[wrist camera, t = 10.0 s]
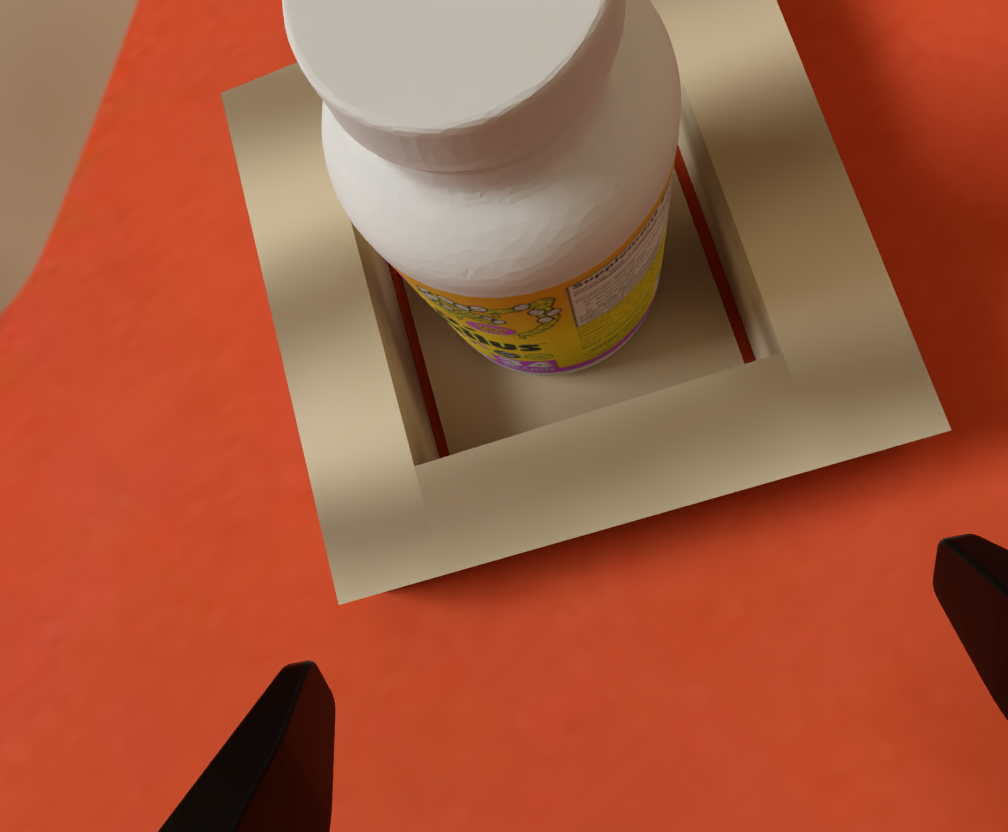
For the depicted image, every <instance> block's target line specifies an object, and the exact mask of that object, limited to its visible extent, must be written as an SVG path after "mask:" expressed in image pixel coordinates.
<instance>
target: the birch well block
mask: <svg viewBox="0 0 1008 832" xmlns="http://www.w3.org/2000/svg"><path fill="white" fill-rule="evenodd" d="M650 1H651V3H652V4H653V6H654V7H655V9H656V10H657V12H658V14H659V15H660V17H661V19H662V21H663V23H664V25H665V28H666V30H667V32H668V35H669V37H670V40H671V43H672V46H673V50H674V53H675V56H676V60H677V65H678V70H679V77H680V85H681V117H680V127H679V138H678V146H679V149H680V151H681V154H682V157H683V160H684V162H685V165H686V168H687V171H688V174H689V176H690V179H691V182H692V185H693V187H694V190H695V193H696V196H697V198H698V201H699V204H700V207H701V210H702V212H703V215H704V218H705V221H706V223H707V226H708V229H709V232H710V234H711V237H712V240H713V243H714V246H715V248H716V251H717V254H718V257H719V259H720V262H721V265H722V268H723V270H724V273H725V276H726V279H727V282H728V284H729V287H730V290H731V293H732V295H733V298H734V301H735V304H736V306H737V309H738V312H739V315H740V318H741V320H742V323H743V326H744V329H745V331H746V334H747V337H748V340H749V342H750V345H751V348H752V351H753V354H754V356H755V359H756V361H753V362H750V363H746V364H744V361H743V358H742V355H741V352H740V350H739V347H738V344H737V341H736V338H735V336H734V333H733V330H732V327H731V324H730V322H729V319H728V316H727V313H726V310H725V308H724V305H723V302H722V299H721V297H720V294H719V291H718V288H717V285H716V283H715V280H714V277H713V274H712V271H711V269H710V266H709V263H708V260H707V257H706V255H705V252H704V249H703V246H702V243H701V241H700V238H699V235H698V232H697V229H696V227H695V224H694V221H693V218H692V215H691V213H690V210H689V207H688V204H687V201H686V199H685V196H684V193H683V190H682V187H681V185H680V182H679V179H678V176H677V173H676V171H675V168H674V173H673V181H672V188H671V196H670V204H669V213H668V220H667V228H666V237H665V244H664V253H663V260H662V268H661V274H660V280H659V285H658V288H657V292H656V295H655V298H654V301H653V303H652V306H651V308H650V310H649V312H648V314H647V316H646V318H645V320H644V321H643V323H642V324H641V325H640V327H639V328H638V330H637V331H636V332H635V333H634V335H633V336H632V337H631V338H630V339H629V340H628V341H627V342H626V343H625V344H624V345H623V346H622V347H621V348H620V349H619V350H618V351H616V352H615V353H613V354H612V355H611V356H609V357H608V358H606V359H604V360H603V361H601V362H599V363H597V364H595V365H593V366H590V367H588V368H586V369H583V370H580V371H576V372H572V373H567V374H561V375H547V376H542V375H532V374H525V373H520V372H516V371H513V370H510V369H508V368H505V367H503V366H501V365H499V364H496V363H494V362H493V361H491V360H489V359H488V358H486V357H485V356H483V355H482V354H481V353H479V352H478V351H477V350H476V349H475V348H473V347H472V346H471V345H470V344H469V343H468V342H467V341H466V340H465V339H464V338H462V337H461V336H460V335H459V334H458V333H457V332H456V331H455V330H454V329H453V328H452V326H450V325H449V324H448V323H447V321H445V320H444V319H443V318H442V317H441V316H440V314H439V313H438V312H436V311H435V310H434V308H433V307H432V306H431V305H429V304H428V303H427V302H426V301H425V300H424V299H423V298H422V297H421V296H420V295H419V293H418V292H417V291H416V290H415V289H414V288H413V287H412V286H411V285H410V284H409V283H408V282H407V281H406V280H405V279H404V278H403V277H402V280H403V283H404V287H405V291H406V294H407V298H408V302H409V306H410V309H411V313H412V317H413V320H414V324H415V328H416V332H417V335H418V339H419V343H420V346H421V350H422V354H423V358H424V361H425V365H426V369H427V372H428V376H429V380H430V383H431V387H432V391H433V395H434V398H435V402H436V406H437V409H438V413H439V417H440V421H441V424H442V428H443V432H444V435H445V439H446V443H447V447H448V450H449V454H450V455H449V456H446V457H443V458H440V456H439V452H438V449H437V445H436V441H435V437H434V434H433V430H432V426H431V422H430V419H429V415H428V411H427V407H426V404H425V400H424V396H423V392H422V389H421V385H420V381H419V377H418V374H417V370H416V366H415V362H414V359H413V355H412V351H411V347H410V344H409V340H408V336H407V332H406V329H405V325H404V321H403V317H402V314H401V310H400V306H399V302H398V299H397V295H396V291H395V287H394V284H393V280H392V276H391V272H390V269H389V265H388V262H387V261H386V260H385V259H384V258H383V257H382V256H381V255H380V254H379V253H378V252H377V251H376V250H375V249H374V248H373V247H372V246H371V245H370V244H369V243H368V242H367V241H366V240H365V238H364V237H363V236H362V235H361V233H360V232H359V231H358V230H357V228H356V227H355V226H354V225H353V223H352V222H351V220H350V218H349V217H348V215H347V214H346V212H345V210H344V209H343V207H342V205H341V203H340V201H339V199H338V197H337V195H336V193H335V190H334V187H333V184H332V182H331V180H330V176H329V173H328V169H327V165H326V161H325V156H324V150H323V145H322V126H321V124H322V105H323V100H322V98H321V97H320V96H319V94H318V93H317V92H316V90H315V89H314V88H313V86H312V85H311V84H310V82H309V81H308V79H307V78H306V76H305V75H304V73H303V71H302V70H301V68H300V66H299V64H298V62H297V63H294V64H292V65H289V66H287V67H284V68H282V69H279V70H277V71H274V72H272V73H270V74H267V75H265V76H262V77H260V78H257V79H255V80H252V81H250V82H247V83H245V84H242V85H240V86H238V87H235V88H233V89H230V90H228V91H225V92H223V93H221V96H222V100H223V105H224V109H225V113H226V118H227V122H228V126H229V131H230V135H231V139H232V144H233V148H234V152H235V157H236V161H237V165H238V170H239V174H240V178H241V183H242V187H243V191H244V196H245V200H246V205H247V209H248V213H249V218H250V222H251V226H252V231H253V235H254V239H255V244H256V248H257V252H258V257H259V261H260V265H261V270H262V274H263V278H264V283H265V287H266V291H267V296H268V300H269V304H270V309H271V313H272V317H273V322H274V326H275V330H276V335H277V339H278V343H279V348H280V352H281V356H282V361H283V365H284V369H285V374H286V378H287V382H288V387H289V391H290V395H291V400H292V404H293V408H294V413H295V417H296V421H297V426H298V430H299V434H300V439H301V443H302V447H303V452H304V456H305V460H306V465H307V469H308V473H309V478H310V482H311V486H312V491H313V495H314V499H315V504H316V508H317V512H318V517H319V521H320V525H321V530H322V534H323V538H324V543H325V547H326V551H327V556H328V560H329V564H330V569H331V573H332V578H333V582H334V586H335V591H336V595H337V599H338V604H339V605H340V604H344V603H347V602H351V601H354V600H358V599H361V598H365V597H368V596H372V595H375V594H379V593H382V592H386V591H389V590H393V589H397V588H400V587H404V586H407V585H411V584H414V583H418V582H421V581H425V580H428V579H432V578H435V577H439V576H442V575H446V574H449V573H453V572H456V571H460V570H463V569H467V568H470V567H474V566H477V565H481V564H484V563H488V562H491V561H495V560H498V559H502V558H505V557H509V556H512V555H516V554H519V553H523V552H526V551H530V550H533V549H537V548H540V547H544V546H547V545H551V544H554V543H558V542H561V541H565V540H568V539H572V538H576V537H579V536H583V535H586V534H590V533H593V532H597V531H600V530H604V529H607V528H611V527H614V526H618V525H621V524H625V523H628V522H632V521H635V520H639V519H642V518H646V517H649V516H653V515H656V514H660V513H663V512H667V511H670V510H674V509H677V508H681V507H684V506H688V505H691V504H695V503H698V502H702V501H705V500H709V499H712V498H716V497H719V496H723V495H726V494H730V493H733V492H737V491H740V490H744V489H748V488H751V487H755V486H758V485H762V484H765V483H769V482H772V481H776V480H779V479H783V478H786V477H790V476H793V475H797V474H800V473H804V472H807V471H811V470H814V469H818V468H821V467H825V466H828V465H832V464H835V463H839V462H842V461H846V460H849V459H853V458H856V457H860V456H863V455H867V454H870V453H874V452H877V451H881V450H884V449H888V448H891V447H895V446H898V445H902V444H905V443H909V442H912V441H916V440H920V439H923V438H927V437H930V436H934V435H937V434H941V433H944V432H948V431H951V428H950V425H949V423H948V420H947V418H946V415H945V413H944V411H943V408H942V406H941V403H940V401H939V398H938V396H937V393H936V391H935V388H934V386H933V384H932V381H931V379H930V376H929V374H928V371H927V369H926V366H925V364H924V361H923V359H922V357H921V354H920V352H919V349H918V347H917V344H916V342H915V339H914V337H913V334H912V332H911V329H910V327H909V325H908V322H907V320H906V317H905V315H904V312H903V310H902V307H901V305H900V302H899V300H898V298H897V295H896V293H895V290H894V288H893V285H892V283H891V280H890V278H889V275H888V273H887V271H886V268H885V266H884V263H883V261H882V258H881V256H880V253H879V251H878V248H877V246H876V244H875V241H874V239H873V236H872V234H871V231H870V229H869V226H868V224H867V221H866V219H865V217H864V214H863V212H862V209H861V207H860V204H859V202H858V199H857V197H856V194H855V192H854V189H853V187H852V185H851V182H850V180H849V177H848V175H847V172H846V170H845V167H844V165H843V162H842V160H841V158H840V155H839V153H838V150H837V148H836V145H835V143H834V140H833V138H832V135H831V133H830V131H829V128H828V126H827V123H826V121H825V118H824V116H823V113H822V111H821V108H820V106H819V104H818V101H817V99H816V96H815V94H814V91H813V89H812V86H811V84H810V81H809V79H808V76H807V74H806V72H805V69H804V67H803V64H802V62H801V59H800V57H799V54H798V52H797V49H796V47H795V45H794V42H793V40H792V37H791V35H790V32H789V30H788V27H787V25H786V22H785V20H784V18H783V15H782V13H781V10H780V8H779V5H778V3H777V0H650Z"/></svg>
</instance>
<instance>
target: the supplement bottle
mask: <svg viewBox="0 0 1008 832" xmlns="http://www.w3.org/2000/svg"><path fill="white" fill-rule="evenodd" d="M282 2H283V15H284V21H285V28H286V32H287V36H288V41H289V43H290V46H291V48H292V50H293V53H294V55H295V57H296V59H297V62H298V64H299V66H300V68H301V70H302V71H303V73H304V75H305V76H306V78H307V79H308V81H309V82H310V84H311V85H312V86H313V88H314V89H315V90H316V92H317V93H318V94H319V96H320V97H321V98H322V100H323V105H322V124H321V126H322V145H323V150H324V156H325V161H326V165H327V169H328V173H329V176H330V180H331V182H332V184H333V187H334V190H335V193H336V195H337V197H338V199H339V201H340V203H341V205H342V207H343V209H344V210H345V212H346V214H347V215H348V217H349V218H350V220H351V222H352V223H353V225H354V226H355V227H356V228H357V230H358V231H359V232H360V233H361V235H362V236H363V237H364V238H365V240H366V241H367V242H368V243H369V244H370V245H371V246H372V247H373V248H374V249H375V250H376V251H377V252H378V253H379V254H380V255H381V256H382V257H383V258H384V259H385V260H386V261H387V262H388V263H389V264H390V265H391V266H392V267H393V268H394V269H395V270H396V271H397V272H398V273H399V274H400V275H401V276H402V277H403V278H404V279H405V280H406V281H407V282H408V283H409V284H410V285H411V286H412V287H413V288H414V289H415V290H416V291H417V292H418V293H419V295H420V296H421V297H422V298H423V299H424V300H425V301H426V302H427V303H428V304H429V305H431V306H432V307H433V308H434V310H435V311H436V312H438V313H439V314H440V316H441V317H442V318H443V319H444V320H445V321H447V323H448V324H449V325H450V326H452V328H453V329H454V330H455V331H456V332H457V333H458V334H459V335H460V336H461V337H462V338H464V339H465V340H466V341H467V342H468V343H469V344H470V345H471V346H472V347H473V348H475V349H476V350H477V351H478V352H479V353H481V354H482V355H483V356H485V357H486V358H488V359H489V360H491V361H493V362H494V363H496V364H499V365H501V366H503V367H505V368H508V369H510V370H513V371H516V372H520V373H525V374H532V375H542V376H547V375H561V374H567V373H572V372H576V371H580V370H583V369H586V368H588V367H590V366H593V365H595V364H597V363H599V362H601V361H603V360H604V359H606V358H608V357H609V356H611V355H612V354H613V353H615V352H616V351H618V350H619V349H620V348H621V347H622V346H623V345H624V344H625V343H626V342H627V341H628V340H629V339H630V338H631V337H632V336H633V335H634V333H635V332H636V331H637V330H638V328H639V327H640V325H641V324H642V323H643V321H644V320H645V318H646V316H647V314H648V312H649V310H650V308H651V306H652V303H653V301H654V298H655V295H656V292H657V288H658V285H659V280H660V274H661V268H662V260H663V253H664V244H665V237H666V228H667V220H668V213H669V204H670V196H671V188H672V181H673V173H674V165H675V159H676V152H677V145H678V138H679V127H680V117H681V85H680V77H679V70H678V65H677V60H676V56H675V53H674V50H673V46H672V43H671V40H670V37H669V35H668V32H667V30H666V28H665V25H664V23H663V21H662V19H661V17H660V15H659V14H658V12H657V10H656V9H655V7H654V6H653V4H652V3H651V1H650V0H282Z"/></svg>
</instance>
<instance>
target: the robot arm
mask: <svg viewBox="0 0 1008 832" xmlns="http://www.w3.org/2000/svg"><path fill="white" fill-rule="evenodd" d="M933 587H934V591H935V594H936V596H937V598H938V600H939V602H940V604H941V606H942V608H943V610H944V611H945V613H946V615H947V617H948V619H949V620H950V622H951V624H952V626H953V628H954V630H955V631H956V633H957V635H958V637H959V639H960V640H961V642H962V644H963V646H964V648H965V650H966V651H967V653H968V655H969V657H970V659H971V660H972V662H973V664H974V666H975V668H976V670H977V671H978V673H979V675H980V677H981V679H982V680H983V682H984V684H985V686H986V687H987V689H988V691H989V692H990V694H991V696H992V698H993V699H994V701H995V702H996V704H997V705H998V707H999V708H1000V710H1001V711H1002V713H1003V714H1004V716H1005V717H1006V719H1007V720H1008V550H1007V549H1005V548H1003V547H1001V546H999V545H997V544H994V543H992V542H990V541H988V540H986V539H984V538H982V537H980V536H977V535H974V534H963V535H958V536H953V537H948V538H944V539H942V540H941V541H940V542H939V544H938V547H937V554H936V561H935V568H934V575H933ZM334 736H335V702H334V697H333V694H332V692H331V690H330V688H329V687H328V685H327V683H326V681H325V679H324V677H323V675H322V674H321V672H320V670H319V668H318V666H317V665H316V663H314V662H313V661H303V662H298V663H292V664H288V665H286V666H285V667H284V668H282V669H281V671H280V672H279V673H278V675H277V676H276V677H275V678H274V680H273V681H272V682H271V684H270V685H269V686H268V688H267V689H266V690H265V692H264V693H263V694H262V696H261V697H260V698H259V699H258V701H257V702H256V703H255V705H254V706H253V707H252V709H251V710H250V711H249V713H248V714H247V715H246V717H245V718H244V719H243V720H242V722H241V723H240V724H239V726H238V727H237V728H236V730H235V731H234V732H233V734H232V735H231V736H230V738H229V739H228V740H227V741H226V743H225V744H224V745H223V747H222V748H221V749H220V751H219V752H218V753H217V755H216V756H215V757H214V759H213V760H212V761H211V762H210V764H209V765H208V766H207V768H206V769H205V770H204V772H203V773H202V774H201V776H200V777H199V778H198V780H197V781H196V782H195V784H194V785H193V786H192V787H191V789H190V790H189V791H188V793H187V794H186V795H185V797H184V798H183V799H182V801H181V802H180V803H179V805H178V806H177V807H176V808H175V810H174V811H173V812H172V814H171V815H170V816H169V818H168V819H167V820H166V822H165V823H164V824H163V826H162V827H161V828H160V829H159V831H158V832H329V831H330V822H331V812H332V793H333V764H334Z"/></svg>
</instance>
